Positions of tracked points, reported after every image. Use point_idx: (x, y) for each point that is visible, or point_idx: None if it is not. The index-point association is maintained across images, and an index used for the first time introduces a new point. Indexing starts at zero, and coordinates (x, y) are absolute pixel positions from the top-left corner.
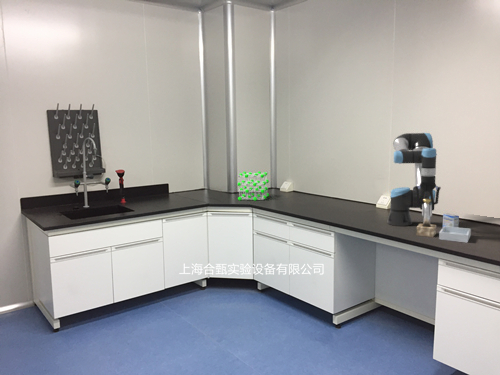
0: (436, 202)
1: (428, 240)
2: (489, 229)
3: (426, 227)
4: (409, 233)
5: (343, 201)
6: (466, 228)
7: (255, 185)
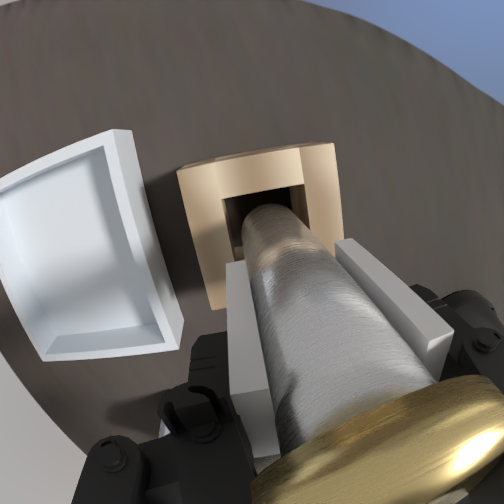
0: (100, 475)
1: (181, 54)
2: (88, 444)
3: (247, 167)
4: (365, 162)
5: None
6: (56, 357)
7: None
